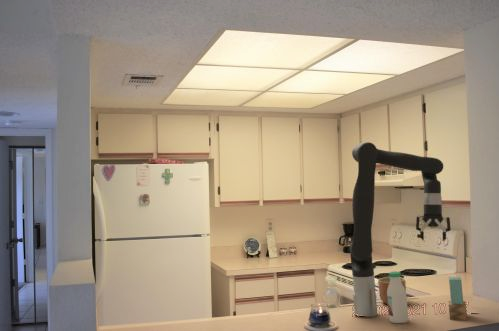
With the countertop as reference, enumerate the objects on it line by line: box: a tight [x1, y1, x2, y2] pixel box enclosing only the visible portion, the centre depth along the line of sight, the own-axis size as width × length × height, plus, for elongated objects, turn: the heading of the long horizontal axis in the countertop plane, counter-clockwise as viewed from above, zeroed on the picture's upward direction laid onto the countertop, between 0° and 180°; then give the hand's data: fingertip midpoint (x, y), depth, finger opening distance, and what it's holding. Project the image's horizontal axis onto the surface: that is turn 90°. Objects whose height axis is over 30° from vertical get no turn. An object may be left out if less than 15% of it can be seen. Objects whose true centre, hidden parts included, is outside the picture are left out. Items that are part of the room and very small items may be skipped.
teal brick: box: [448, 276, 464, 304], centre depth 201 cm, size 4×4×10 cm
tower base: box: [447, 300, 468, 321], centre depth 201 cm, size 6×6×6 cm
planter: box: [377, 276, 407, 305], centre depth 230 cm, size 12×12×11 cm
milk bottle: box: [387, 271, 409, 324], centre depth 202 cm, size 8×8×20 cm
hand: (433, 240), depth 217 cm, fingers open, 8 cm apart
